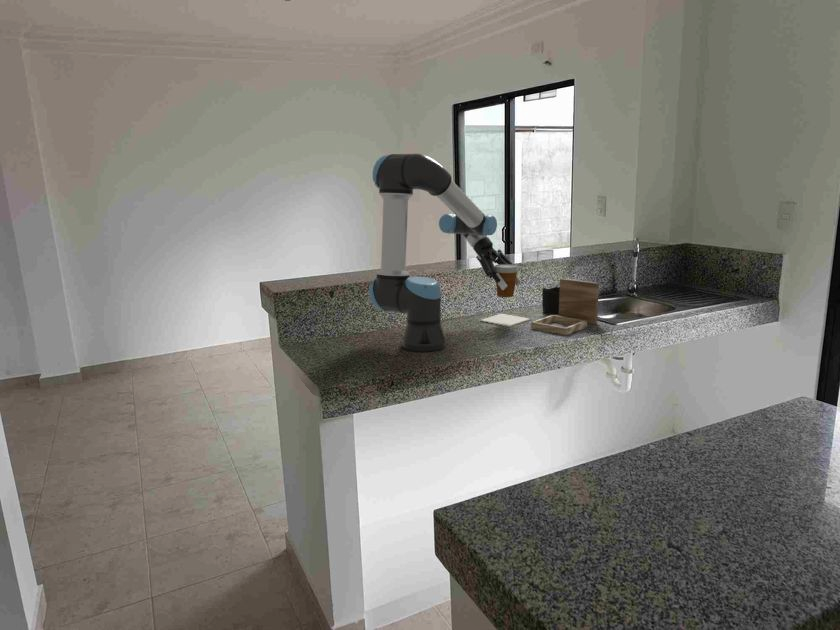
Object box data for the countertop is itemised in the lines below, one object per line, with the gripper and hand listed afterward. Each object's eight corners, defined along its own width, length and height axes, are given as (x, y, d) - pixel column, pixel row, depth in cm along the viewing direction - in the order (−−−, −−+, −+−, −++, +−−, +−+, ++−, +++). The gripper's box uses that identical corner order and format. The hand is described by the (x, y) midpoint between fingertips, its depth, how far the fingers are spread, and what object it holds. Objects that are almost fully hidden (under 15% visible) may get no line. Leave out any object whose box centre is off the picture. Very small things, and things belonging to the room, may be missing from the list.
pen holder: (545, 309, 260) (545, 286, 258) (567, 310, 256) (568, 287, 254) (538, 313, 252) (539, 290, 250) (561, 315, 248) (562, 291, 246)
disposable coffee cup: (490, 297, 237) (491, 267, 234) (495, 292, 245) (496, 263, 243) (515, 299, 234) (516, 268, 231) (519, 294, 242) (520, 264, 240)
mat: (509, 327, 232) (509, 325, 232) (480, 321, 242) (480, 319, 242) (529, 320, 242) (529, 318, 242) (501, 314, 252) (501, 313, 251)
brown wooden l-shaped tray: (567, 335, 219) (569, 292, 215) (529, 328, 230) (530, 286, 226) (596, 323, 235) (599, 283, 231) (560, 317, 245) (561, 278, 242)
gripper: (468, 238, 233) (501, 284, 226) (501, 233, 248) (533, 276, 242) (457, 251, 238) (489, 296, 231) (491, 245, 253) (522, 287, 246)
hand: (512, 286), depth 236 cm, fingers closed on disposable coffee cup, 9 cm apart
